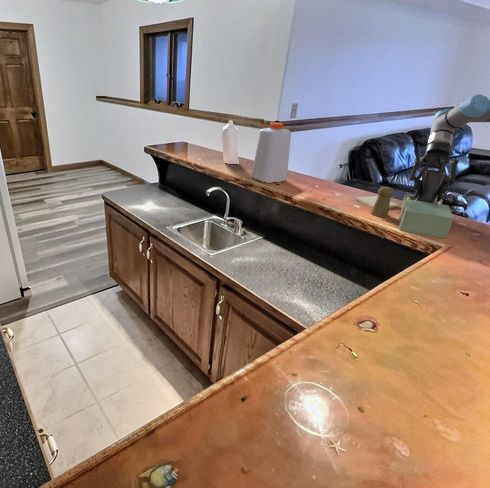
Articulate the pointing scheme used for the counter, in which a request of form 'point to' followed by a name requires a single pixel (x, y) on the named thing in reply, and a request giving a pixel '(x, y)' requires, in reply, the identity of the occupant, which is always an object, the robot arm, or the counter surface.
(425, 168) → the robot arm
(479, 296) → the counter surface
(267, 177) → the plastic bottle
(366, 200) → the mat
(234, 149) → the pale pink bottle
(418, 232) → the green beveled box
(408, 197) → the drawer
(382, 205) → the olive pawn shaped piece
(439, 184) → the dark brown rectangular block
